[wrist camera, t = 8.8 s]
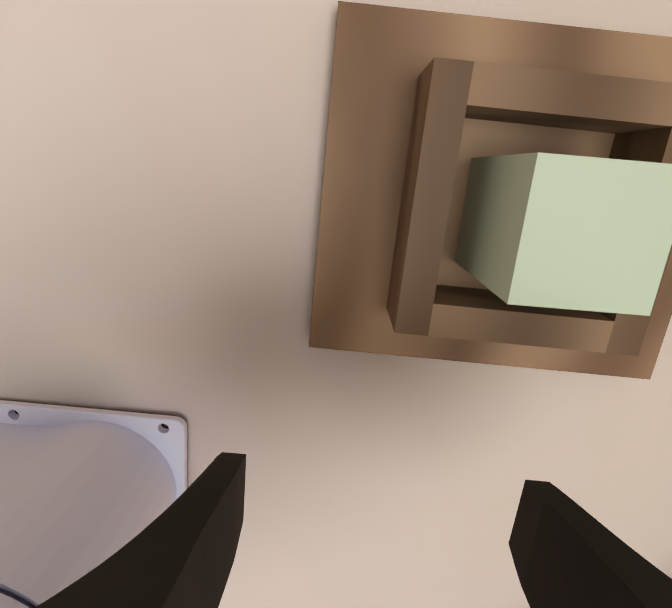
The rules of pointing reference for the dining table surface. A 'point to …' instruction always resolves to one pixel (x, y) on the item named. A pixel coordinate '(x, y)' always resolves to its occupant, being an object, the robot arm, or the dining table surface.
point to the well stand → (452, 176)
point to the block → (568, 230)
